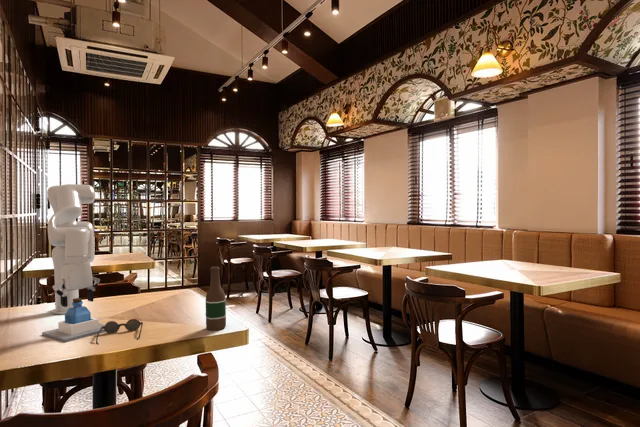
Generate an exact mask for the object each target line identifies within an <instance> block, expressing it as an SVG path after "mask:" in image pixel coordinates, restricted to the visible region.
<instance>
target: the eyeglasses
mask: <svg viewBox="0 0 640 427" xmlns="http://www.w3.org/2000/svg"><path fill="white" fill-rule="evenodd" d="M143 325H144V321H140V320H138V319H137V318H130V319H129V320H128V321H126V323H118V322H117V321H113V320H110V321H107V322H106V323H105V326H102V327H101V329H100V330H99V332H98V334H96V339H95V344H96V345H100V343H98V339H99V336H100V334H101V333H100V332H101V330H102V329H104V330H105V331H106V332H105V333H106V334H113V333H117V332H118V331H119V330H120V327H121V326H124V328H125V329H126V331H137V330H139V329H140V330H139V334H138V338H137V339H136V341H138V340H140V338H141V333H142V329H143Z"/></svg>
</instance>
